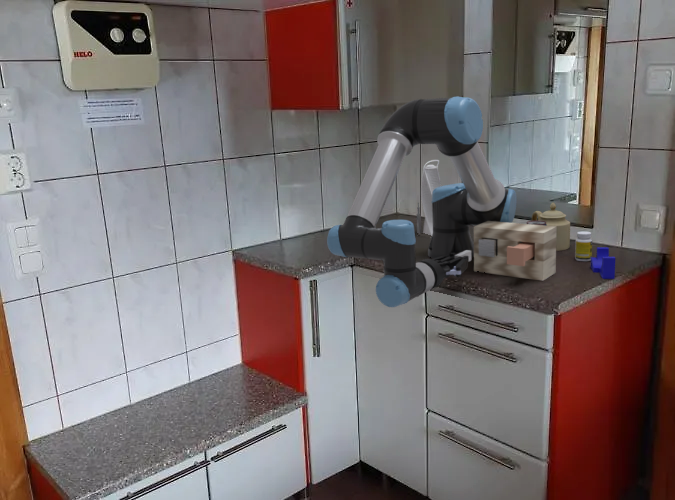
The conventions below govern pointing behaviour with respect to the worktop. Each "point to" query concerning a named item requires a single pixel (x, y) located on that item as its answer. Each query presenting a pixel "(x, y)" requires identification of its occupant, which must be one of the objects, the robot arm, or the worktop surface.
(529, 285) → the worktop surface
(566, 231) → the sugar bowl
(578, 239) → the supplement bottle
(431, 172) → the skyscraper
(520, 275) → the housing
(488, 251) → the grey plug
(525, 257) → the terracotta plug
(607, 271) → the blue curved cradle
